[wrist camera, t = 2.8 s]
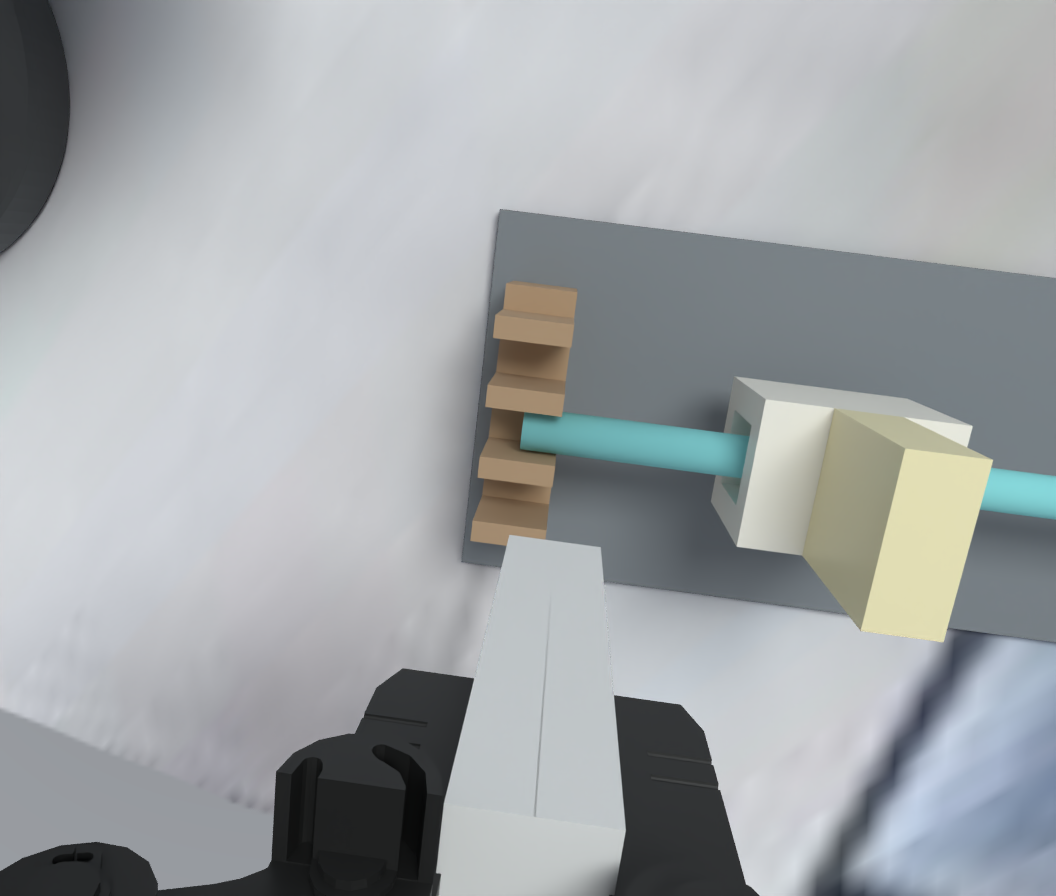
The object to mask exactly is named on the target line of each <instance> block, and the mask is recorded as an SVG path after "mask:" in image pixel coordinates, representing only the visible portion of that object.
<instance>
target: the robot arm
mask: <svg viewBox="0 0 1056 896" xmlns="http://www.w3.org/2000/svg"><path fill="white" fill-rule="evenodd" d="M68 124H69V82H68V74H67V66H66V60H65V55H64V50H63V46H62V42H61V38H60V34H59V31H58V28H57V24H56V21H55V18H54V15H53V13H52V10H51V8H50V5H49V3H48V0H0V253H1V252H2V251H4V250H5V249H6V248H7V247H9V246H10V245H11V244H12V243H13V242H14V241H15V240H16V239H17V238H18V237H19V236H20V235H21V234H22V233H23V232H24V231H25V230H26V229H27V228H28V226H29V225H30V224H31V223H32V221H33V220H34V219H35V217H36V216H37V215H38V213H39V212H40V210H41V208H42V207H43V205H44V203H45V202H46V200H47V198H48V196H49V194H50V192H51V190H52V188H53V185H54V183H55V180H56V178H57V175H58V172H59V169H60V166H61V163H62V159H63V155H64V150H65V146H66V140H67V134H68ZM711 761H712V759H711V755H710V752H709V748H708V744H707V741H706V737H705V733H704V731H703V730H702V728H701V727H700V726H699V725H698V724H697V723H696V722H695V720H694V719H693V718H692V717H691V716H690V715H689V714H688V713H687V711H686V710H685V709H684V708H683V707H682V706H681V705H678V704H671V703H664V702H657V701H650V700H643V699H636V698H629V697H622V696H615V695H614V691H613V680H612V669H611V657H610V646H609V635H608V624H607V612H606V601H605V590H604V579H603V567H602V556H601V547H595V546H588V545H581V544H573V543H566V542H559V541H551V540H544V539H537V538H529V537H522V536H515V535H509V539H508V543H507V547H506V551H505V555H504V559H503V563H502V567H501V571H500V576H499V580H498V584H497V588H496V592H495V596H494V600H493V604H492V608H491V612H490V617H489V621H488V625H487V629H486V633H485V637H484V641H483V645H482V649H481V653H480V658H479V662H478V666H477V670H476V674H475V678H467V677H460V676H453V675H445V674H438V673H431V672H424V671H417V670H410V669H401V670H400V671H399V672H397V673H396V674H395V675H393V676H392V677H390V678H389V679H388V680H386V681H385V682H384V683H382V684H381V685H379V686H378V687H377V688H376V690H375V692H374V694H373V696H372V698H371V701H370V703H369V705H368V707H367V709H366V711H365V714H364V718H362V720H361V722H360V724H359V726H358V728H357V730H356V733H355V734H346V735H341V736H336V737H332V738H327V739H322V740H318V741H316V742H315V743H313V744H311V745H309V746H307V747H305V748H303V749H301V750H299V751H297V752H295V753H293V754H292V755H291V757H290V758H289V759H288V760H287V761H286V762H285V763H284V764H283V765H282V766H281V767H280V768H279V769H278V770H277V771H276V786H275V805H274V825H273V844H272V860H271V862H270V864H269V866H268V868H266V869H264V870H262V871H259V872H256V873H254V874H251V875H249V876H246V877H244V878H241V879H237V880H232V881H227V882H222V883H217V884H210V885H202V886H193V887H184V888H176V889H167V890H158V883H157V880H156V878H155V876H154V874H153V871H152V869H151V867H150V864H149V862H148V861H146V860H145V859H144V858H142V857H141V856H139V855H138V854H136V853H135V852H133V851H131V850H130V849H128V848H127V847H121V846H116V845H110V844H105V843H100V842H92V843H82V844H71V845H61V846H58V847H55V848H52V849H49V850H46V851H43V852H40V853H37V854H34V855H31V856H28V857H25V858H22V859H20V860H19V861H17V862H15V863H14V864H12V865H10V866H8V867H7V868H5V869H3V870H2V871H0V896H759V895H758V894H757V893H756V892H755V891H754V890H753V889H752V888H751V887H750V886H748V885H746V883H745V879H744V876H743V872H742V868H741V865H740V861H739V857H738V854H737V850H736V846H735V843H734V839H733V835H732V832H731V828H730V825H729V821H728V817H727V814H726V810H725V806H724V803H723V799H722V795H721V792H720V790H718V781H717V777H716V773H715V770H714V766H713V765H711Z"/></svg>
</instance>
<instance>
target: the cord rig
mask: <svg viewBox="0 0 1056 896" xmlns="http://www.w3.org/2000/svg"><path fill="white" fill-rule="evenodd" d="M734 376H735V377H743V378H751V379H759V380H767V381H774V382H782V383H790V384H798V385H805V386H813V387H821V388H829V389H837V390H844V391H852V392H860V393H868V394H875V395H883V396H891V397H899V398H907V399H909V400H912V401H914V402H916V403H919V404H921V405H924V406H926V407H928V408H931V409H933V410H936V411H938V412H940V413H943V414H945V415H948V416H950V417H952V418H955V419H957V420H960V421H962V422H964V423H967V424H969V425H972V426H973V427H972V431H971V435H970V439H969V443H968V446H967V448H969V449H971V450H973V451H976V452H978V453H980V454H982V455H984V456H986V457H988V458H990V459H992V460H993V463H992V466H991V470H990V474H989V477H988V481H987V485H986V488H985V492H984V496H983V499H982V503H981V507H980V510H979V514H978V518H977V521H976V525H975V529H974V532H973V536H972V539H971V543H970V547H969V550H968V554H967V558H966V561H965V565H964V569H963V572H962V576H961V580H960V583H959V587H958V591H957V594H956V598H955V602H954V605H953V609H952V613H951V616H950V620H949V624H948V627H947V628H953V629H961V630H968V631H975V632H983V633H990V634H998V635H1005V636H1012V637H1020V638H1027V639H1034V640H1042V641H1049V642H1056V278H1050V277H1042V276H1034V275H1026V274H1018V273H1009V272H1001V271H993V270H985V269H977V268H969V267H961V266H953V265H945V264H937V263H929V262H921V261H913V260H905V259H897V258H889V257H881V256H873V255H865V254H857V253H849V252H841V251H833V250H825V249H817V248H809V247H800V246H792V245H784V244H776V243H768V242H760V241H752V240H744V239H736V238H728V237H720V236H712V235H704V234H696V233H688V232H680V231H672V230H664V229H656V228H648V227H640V226H632V225H624V224H616V223H608V222H600V221H592V220H583V219H575V218H567V217H559V216H551V215H543V214H535V213H527V212H519V211H511V210H503V209H500V213H499V222H498V231H497V241H496V250H495V259H494V268H493V277H492V287H491V296H490V305H489V314H488V323H487V333H486V342H485V351H484V360H483V370H482V379H481V388H480V397H479V406H478V416H477V425H476V434H475V443H474V452H473V462H472V471H471V480H470V489H469V498H468V508H467V517H466V526H465V535H464V544H463V554H462V562H466V563H473V564H481V565H488V566H495V567H502V563H503V559H504V555H505V551H506V547H507V543H508V539H509V535H515V536H522V537H529V538H537V539H544V540H551V541H559V542H566V543H573V544H581V545H588V546H595V547H601V556H602V567H603V579H604V581H606V582H613V583H621V584H628V585H636V586H643V587H650V588H658V589H665V590H673V591H680V592H687V593H695V594H702V595H709V596H717V597H724V598H732V599H739V600H746V601H754V602H761V603H769V604H776V605H783V606H791V607H798V608H805V609H813V610H820V611H828V612H835V613H842V614H847V613H846V611H845V610H844V609H843V607H842V606H841V605H840V604H839V602H838V601H837V600H836V598H835V597H834V596H833V595H832V593H831V592H830V591H829V589H828V588H827V587H826V586H825V584H824V583H823V582H822V580H821V579H820V578H819V577H818V575H817V574H816V573H815V571H814V570H813V569H812V567H811V566H810V565H809V564H808V562H807V561H806V560H805V558H804V557H803V556H802V555H795V554H787V553H780V552H772V551H765V550H757V549H750V548H742V547H737V546H736V545H735V543H734V541H733V539H732V538H731V536H730V534H729V532H728V531H727V529H726V527H725V525H724V524H723V522H722V520H721V518H720V517H719V515H718V513H717V511H716V510H715V508H714V506H713V504H712V503H711V498H712V493H713V487H714V482H715V477H716V475H720V476H727V477H735V478H742V473H743V468H744V463H745V458H746V452H747V447H748V442H749V437H750V436H744V435H736V434H729V433H724V428H725V423H726V418H727V412H728V407H729V402H730V396H731V391H732V385H733V380H734Z"/></svg>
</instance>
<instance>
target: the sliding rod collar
mask: <svg viewBox="0 0 1056 896" xmlns="http://www.w3.org/2000/svg"><path fill="white" fill-rule="evenodd" d="M972 427H973V426H972V425H969V424H967V423H964V422H962V421H960V420H957V419H955V418H952V417H950V416H948V415H945V414H943V413H940V412H938V411H936V410H933V409H931V408H928V407H926V406H924V405H921V404H919V403H916V402H914V401H912V400H909V399H907V398H899V397H891V396H883V395H875V394H868V393H860V392H852V391H844V390H837V389H829V388H821V387H813V386H805V385H798V384H790V383H782V382H774V381H767V380H759V379H751V378H743V377H735V376H734V380H733V385H732V391H731V396H730V402H729V407H728V412H727V418H726V423H725V428H724V433H729V434H736V435H744V436H750V437H749V442H748V447H747V452H746V458H745V463H744V468H743V473H742V478H735V477H727V476H720V475H716V477H715V482H714V487H713V493H712V498H711V503H712V504H713V506H714V508H715V510H716V511H717V513H718V515H719V517H720V518H721V520H722V522H723V524H724V525H725V527H726V529H727V531H728V532H729V534H730V536H731V538H732V539H733V541H734V543H735V545H736V546H737V547H742V548H750V549H757V550H765V551H772V552H780V553H787V554H795V555H802V556H803V557H804V558H805V560H806V561H807V562H808V564H809V565H810V566H811V567H812V569H813V570H814V571H815V573H816V574H817V575H818V577H819V578H820V579H821V580H822V582H823V583H824V584H825V586H826V587H827V588H828V589H829V591H830V592H831V593H832V595H833V596H834V597H835V598H836V600H837V601H838V602H839V604H840V605H841V606H842V607H843V609H844V610H845V611H846V613H847V614H848V615H849V617H850V618H851V619H852V620H853V622H854V623H855V624H856V626H857V627H858V628H859V629H860V631H864V632H872V633H879V634H886V635H894V636H901V637H909V638H916V639H923V640H931V641H938V642H944V638H945V635H946V631H947V627H948V624H949V620H950V616H951V613H952V609H953V605H954V602H955V598H956V594H957V591H958V587H959V583H960V580H961V576H962V572H963V569H964V565H965V561H966V558H967V554H968V550H969V547H970V543H971V539H972V536H973V532H974V529H975V525H976V521H977V518H978V514H979V510H980V507H981V503H982V499H983V496H984V492H985V488H986V485H987V481H988V477H989V474H990V470H991V466H992V463H993V460H992V459H990V458H988V457H986V456H984V455H982V454H980V453H978V452H976V451H973V450H971V449H969V448H967V446H968V443H969V439H970V435H971V431H972Z"/></svg>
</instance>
